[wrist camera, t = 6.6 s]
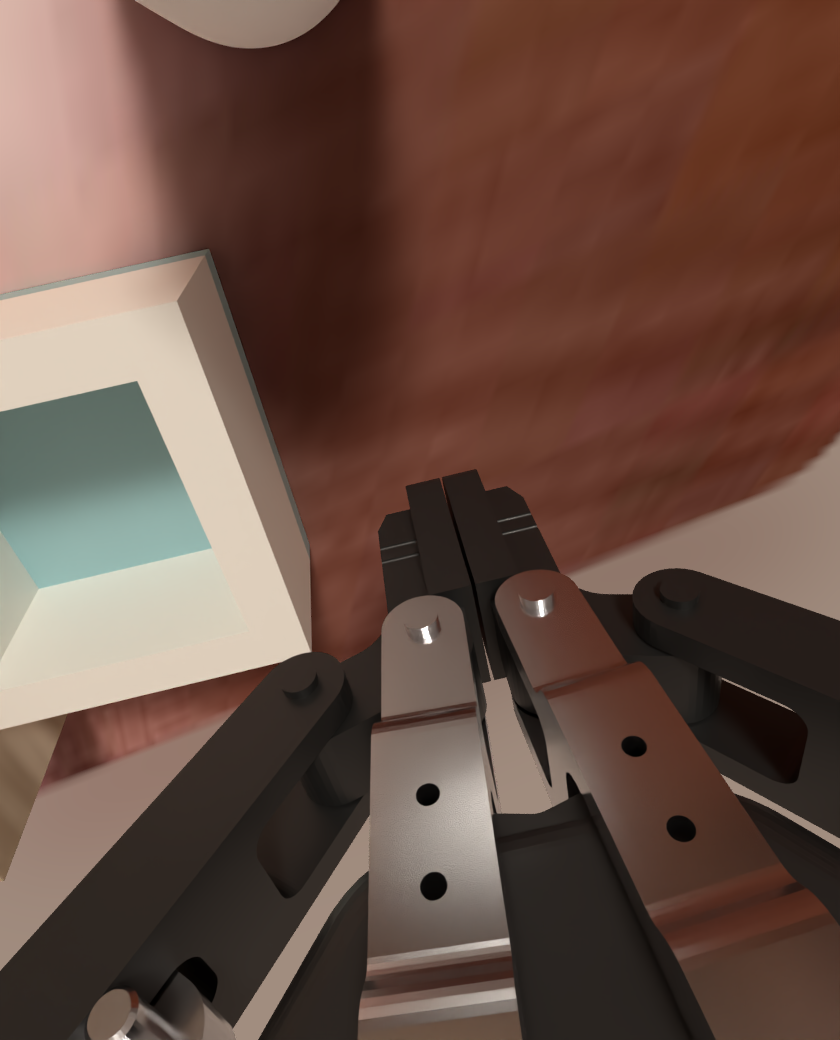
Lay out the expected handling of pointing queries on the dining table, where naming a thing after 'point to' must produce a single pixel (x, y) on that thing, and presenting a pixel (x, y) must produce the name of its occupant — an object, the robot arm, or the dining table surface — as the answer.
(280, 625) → the socket block
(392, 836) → the robot arm
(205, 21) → the can
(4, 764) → the stop board
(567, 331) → the dining table surface
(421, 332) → the dining table surface
